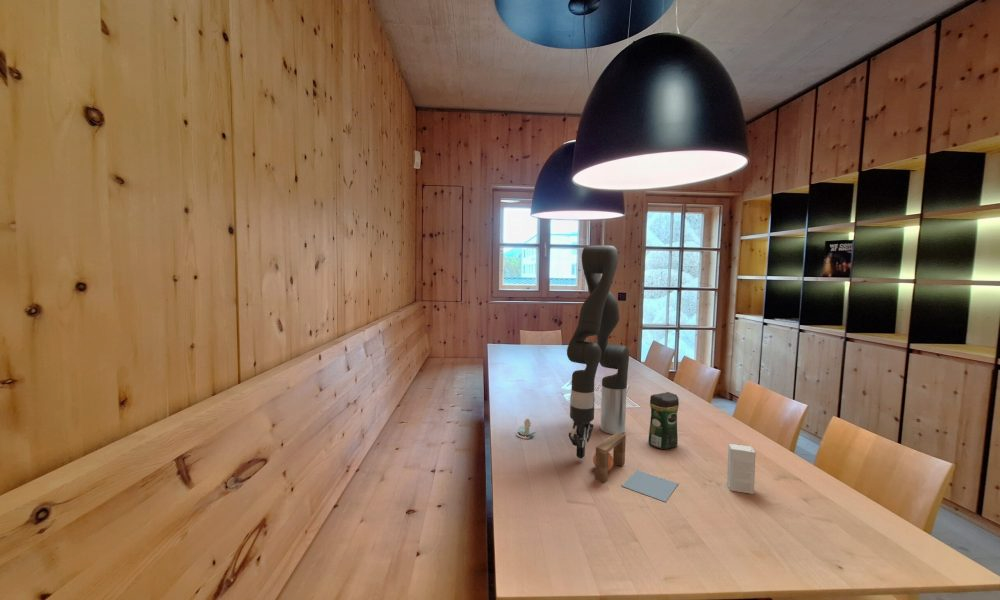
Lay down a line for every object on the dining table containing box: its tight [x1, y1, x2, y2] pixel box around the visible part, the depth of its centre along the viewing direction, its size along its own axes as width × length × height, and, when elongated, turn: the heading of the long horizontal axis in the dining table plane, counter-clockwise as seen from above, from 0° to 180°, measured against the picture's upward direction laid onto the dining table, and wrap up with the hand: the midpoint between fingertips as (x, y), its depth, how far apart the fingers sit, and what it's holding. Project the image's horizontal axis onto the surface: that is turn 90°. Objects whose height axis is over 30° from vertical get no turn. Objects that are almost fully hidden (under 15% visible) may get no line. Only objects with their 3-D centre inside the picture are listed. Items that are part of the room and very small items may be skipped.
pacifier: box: [515, 418, 536, 440], centre depth 147 cm, size 7×6×6 cm
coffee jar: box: [648, 391, 680, 450], centre depth 141 cm, size 10×8×19 cm
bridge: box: [594, 432, 627, 484], centre depth 121 cm, size 3×15×10 cm, turn 141°
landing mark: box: [621, 469, 679, 503], centre depth 114 cm, size 12×12×1 cm
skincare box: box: [726, 443, 757, 495], centre depth 112 cm, size 6×4×12 cm
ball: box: [592, 451, 614, 471], centre depth 122 cm, size 6×6×6 cm
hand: (580, 456), depth 127 cm, fingers closed
